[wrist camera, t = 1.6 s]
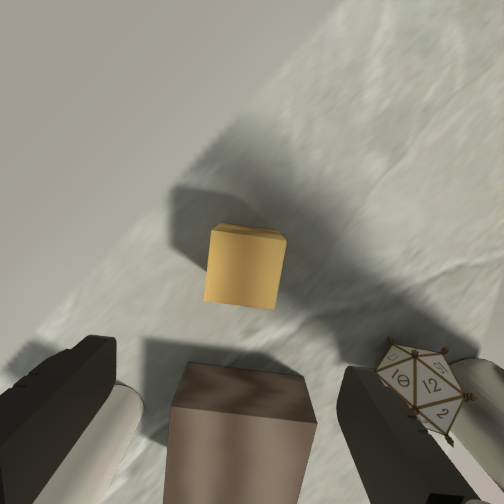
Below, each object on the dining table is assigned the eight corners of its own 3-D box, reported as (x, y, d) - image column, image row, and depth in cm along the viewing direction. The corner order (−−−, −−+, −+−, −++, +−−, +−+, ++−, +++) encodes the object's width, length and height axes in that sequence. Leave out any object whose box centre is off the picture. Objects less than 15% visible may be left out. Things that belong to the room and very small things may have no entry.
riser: (303, 376, 28) (317, 423, 22) (283, 465, 31) (290, 526, 25) (187, 362, 28) (170, 406, 22) (179, 453, 31) (162, 513, 25)
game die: (385, 349, 31) (437, 443, 25) (336, 353, 28) (382, 463, 22) (444, 317, 26) (533, 429, 19) (392, 318, 22) (478, 454, 16)
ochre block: (278, 230, 24) (286, 240, 18) (269, 284, 25) (274, 310, 20) (221, 222, 24) (211, 230, 18) (214, 277, 25) (203, 300, 19)
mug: (92, 378, 28) (-23, 506, 16) (148, 385, 28) (74, 517, 17) (91, 443, 30) (-10, 597, 19) (143, 449, 30) (75, 605, 19)
